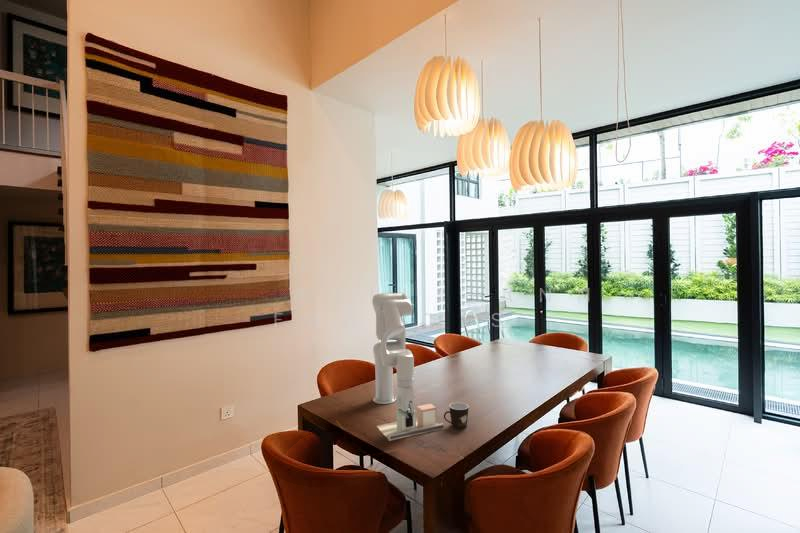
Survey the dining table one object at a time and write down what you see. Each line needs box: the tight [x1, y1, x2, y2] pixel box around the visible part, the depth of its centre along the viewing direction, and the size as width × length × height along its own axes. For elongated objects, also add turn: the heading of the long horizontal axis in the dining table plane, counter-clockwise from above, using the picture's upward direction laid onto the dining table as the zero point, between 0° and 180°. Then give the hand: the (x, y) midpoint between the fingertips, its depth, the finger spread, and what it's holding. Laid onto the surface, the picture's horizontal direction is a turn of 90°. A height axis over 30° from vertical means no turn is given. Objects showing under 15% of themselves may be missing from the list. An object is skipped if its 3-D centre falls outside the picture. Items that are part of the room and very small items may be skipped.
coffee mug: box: [443, 402, 470, 430], centre depth 168 cm, size 12×9×10 cm
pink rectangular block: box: [416, 403, 437, 428], centre depth 168 cm, size 7×5×9 cm
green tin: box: [396, 408, 417, 432], centre depth 164 cm, size 7×5×9 cm
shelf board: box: [376, 417, 445, 442], centre depth 168 cm, size 16×26×3 cm, turn 113°
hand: (406, 423), depth 164 cm, fingers open, 6 cm apart
